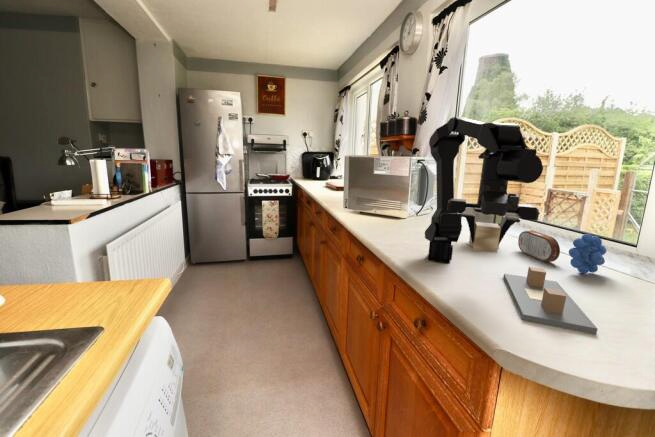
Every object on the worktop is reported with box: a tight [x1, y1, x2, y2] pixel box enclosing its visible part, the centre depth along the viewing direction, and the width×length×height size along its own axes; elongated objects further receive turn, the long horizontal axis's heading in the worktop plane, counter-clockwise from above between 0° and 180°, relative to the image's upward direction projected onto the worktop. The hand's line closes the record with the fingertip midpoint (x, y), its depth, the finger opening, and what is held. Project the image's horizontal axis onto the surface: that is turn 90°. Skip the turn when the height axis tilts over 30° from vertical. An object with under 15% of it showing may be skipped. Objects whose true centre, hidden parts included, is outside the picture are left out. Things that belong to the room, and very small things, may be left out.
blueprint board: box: [503, 266, 598, 335], centre depth 70 cm, size 12×24×5 cm, turn 159°
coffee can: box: [468, 211, 502, 249], centre depth 113 cm, size 10×10×14 cm
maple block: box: [471, 222, 501, 254], centre depth 74 cm, size 5×5×6 cm
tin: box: [517, 229, 561, 263], centre depth 102 cm, size 15×3×8 cm, turn 7°
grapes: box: [568, 233, 607, 274], centre depth 87 cm, size 12×7×12 cm, turn 99°
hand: (484, 243), depth 74 cm, fingers closed on maple block, 5 cm apart
